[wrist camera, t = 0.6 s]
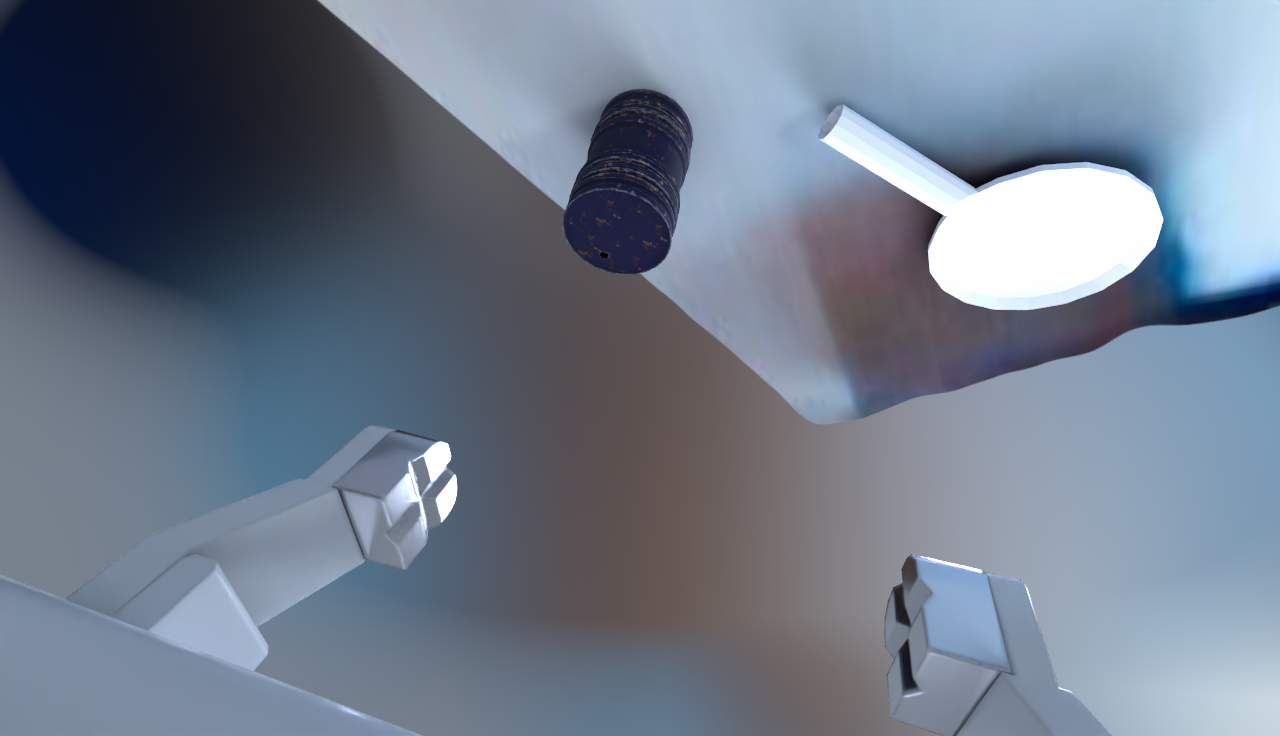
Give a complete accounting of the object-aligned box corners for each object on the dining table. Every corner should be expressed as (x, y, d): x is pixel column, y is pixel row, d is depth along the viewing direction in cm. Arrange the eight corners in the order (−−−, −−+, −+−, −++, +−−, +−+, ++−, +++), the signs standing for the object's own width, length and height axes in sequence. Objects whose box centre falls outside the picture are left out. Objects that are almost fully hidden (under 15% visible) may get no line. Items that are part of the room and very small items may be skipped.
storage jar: (621, 68, 52) (584, 166, 43) (712, 120, 54) (693, 222, 46) (584, 149, 60) (547, 246, 51) (665, 191, 62) (642, 290, 54)
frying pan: (773, 173, 60) (767, 201, 58) (913, 8, 44) (914, 38, 42) (1013, 312, 68) (1017, 342, 66) (1205, 214, 52) (1219, 249, 50)
